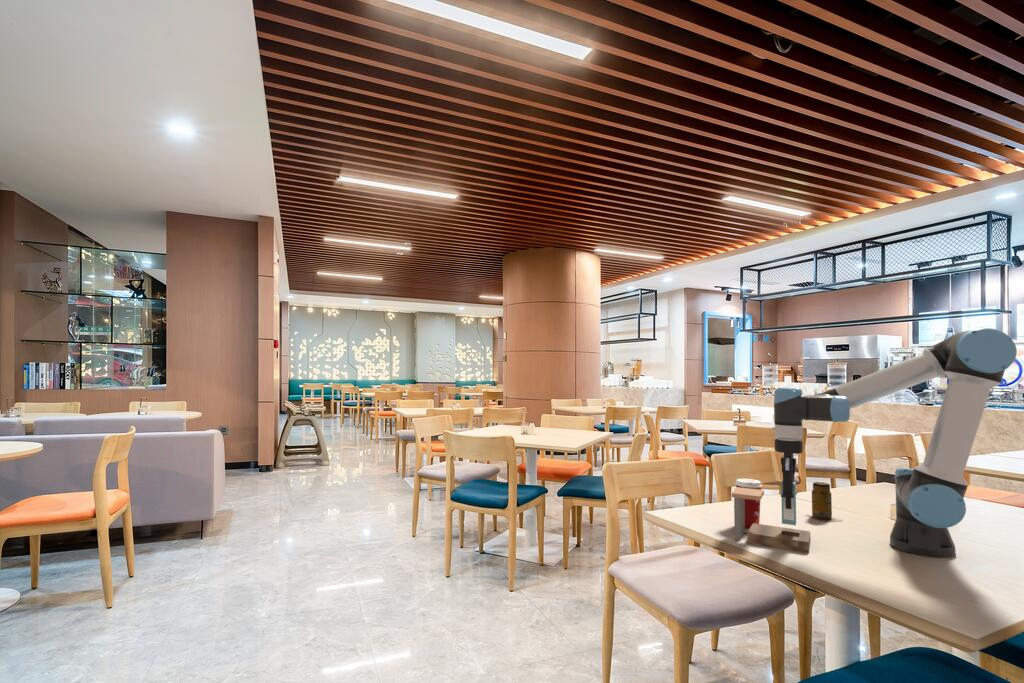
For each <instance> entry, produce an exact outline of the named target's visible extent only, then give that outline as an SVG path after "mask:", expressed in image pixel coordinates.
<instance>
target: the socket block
mask: <svg viewBox="0 0 1024 683" xmlns="http://www.w3.org/2000/svg"><path fill="white" fill-rule="evenodd" d="M747 544H751V545H756V546H757V545H759V546H764V547H769V548H776V549H782V550H790V551H794V552H800V553H806V554H807V553H808V554H810V550H811V549H810V546H811V531H809V530H804V529H803V530H802V529H796V528H795V529H794V528H788V527H782V526H777V525H776V526H775V525H767V524H762V523H759V524H755V523H753V524H752V525H751V527H750V529H748V531H747Z"/></svg>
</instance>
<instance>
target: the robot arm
mask: <svg viewBox="0 0 1024 683" xmlns="http://www.w3.org/2000/svg"><path fill="white" fill-rule="evenodd" d="M1017 354H1018V350H1017V346H1016V343H1015V341H1014V340H1013V339H1012V337H1010V336H1009V335H1008V334H1006V333H1005V332H1004V331H1002V330H999V329H996V328H991V327H974V328H971V329H968V330H963V331H960V332H957V333H955V334H953V335H951V336H949V337H947V338H946V339H944V340H942V341H940V342H937V343H936V344H934V345H931V346H930V347H927V348H925V349H923V351H922V353H921V354H918V355H915V356H913V357H911V358H908V359H906V360H903V361H901V362H897V363H895V364H892V365H890V366H888V367H885V368H882V369H880V370H878V371H875V372H872V373H869V374H867V375H865V376H863V377H858V378H857V379H855V380H854V379H853V380H851V381H849V382H847V383H844V384H841V385H838V386H837V387H834V388H832V389H828V390H826V391H824V392H819V393H816V394H814V395H810V394H803V390H802V389H801V388H800V387H799V388H798V387H777V388H776V389H775V390H774V395H773V397H774V398H773V414H774V416H773V418H774V426H772V429H771V430H773V431H774V437H775V439H774V451H775V452H777V453H782V454H783V456H782V457H781V458H780V464H781V473H782V481H783V495H782V494H780V497H781V498H782V497H783V514H784V519H786V520H793V521H794V498H793V497H794V496H793V482H796V481H795V473H796V465H797V458H795V457H794V454H795V455H796V454H797V455H799V454H802V453H803V451H804V448H803V447H804V446H803V443H804V442H803V441H802V440H803V439H804V438H803V437H804V434H803V430H804V429H803V428H804V426H803V421H817V422H818V421H819V422H820V421H821V422H833V423H837V422H839V423H840V422H841V423H843V422H844V423H847V422H849V420H850V415H851V414H850V413H851V411H850V410H851V409H854V408H856V407H860V406H862V405H864V404H867V403H871V402H873V401H875V400H879V399H880V398H881V399H882V398H884V397H886V396H889V395H892V394H895V393H898V392H901V391H903V390H905V389H906V390H907V389H908V388H911V387H913V386H917V385H920V384H922V383H925V382H927V381H931V380H933V379H936V378H939V379H946V378H948V383H947V386H946V389H945V392H944V395H943V398H942V402H941V404H940V408H939V412H938V414H937V417H936V420H935V424H934V426H933V430H932V434H931V437H930V440H929V444H928V446H927V449H926V452H925V456H924V459H923V462H922V463H921V464H919V465H916V466H914V467H913V468H906V467H905V468H904V467H898V468H896V469H895V472H894V481H895V487H894V488H895V511H896V513H895V514H896V515H895V517H896V518H895V521H894V523H893V527H892V529H891V531H890V535H889V544H890V545H891V547H893V548H895V549H897V550H900V551H903V552H906V553H910V554H915V555H918V556H919V555H920V556H923V557H925V556H926V557H932V558H933V557H934V558H952V557H955V556H956V554H957V553H956V545H955V543H954V540H953V538H952V536H951V533H950V531H949V530H950V529H949V528H951V527H952V528H953V527H955V526H957V525H958V524H959V523H960V522H962V521H963V520H964V518H965V515H966V512H967V506H966V502H965V499H964V498H965V496H966V492H967V490H968V486H969V482H968V481H967V480H966V479H965V477H964V474H965V470H966V468H967V464H968V460H969V457H970V455H971V452H972V449H973V445H974V441H975V439H976V436H977V433H978V429H979V426H980V424H981V419H982V416H983V414H984V411H985V407H986V404H987V402H988V399H989V395H990V393H991V390H992V389H993V388H996V387H998V386H999V385H1001V383H1002V380H1003V378H1004V374H1005V372H1006V369H1009V368H1010V367H1011V365H1012V364H1013V363H1014V362H1015V360H1016V358H1017ZM796 495H798V491H796Z"/></svg>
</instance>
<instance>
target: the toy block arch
mask: <svg viewBox="0 0 1024 683" xmlns="http://www.w3.org/2000/svg"><path fill="white" fill-rule="evenodd" d="M764 494H765V490H764V489H761V490H758V489H749V488H740V487H735V488H734V490H733V491H732V492H731V498H733V503H734V505H733V508H734V510H733V512H734V516H733V517H734V540H735V541H742V534H745V533H746V528H745V508H744V499H751V500H759V501H760V502H761V500H762V499H763V496H764Z"/></svg>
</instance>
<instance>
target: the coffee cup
mask: <svg viewBox="0 0 1024 683" xmlns="http://www.w3.org/2000/svg"><path fill="white" fill-rule="evenodd" d="M734 485H735V486H736V487H740V488H749V489H758V490H762V487H763V485H762V483H761V481H760V480H758V479H753V478H737V479H736V482H735V483H734ZM736 487H735V488H736ZM744 508H745V529H748V530H749V529H750V527H751V525H752V524H753V523H755V524H760V520H761V519H760V518H761V517H760V516H761V515H760V514H761V500H760V501H759V500H751V499H744Z"/></svg>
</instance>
